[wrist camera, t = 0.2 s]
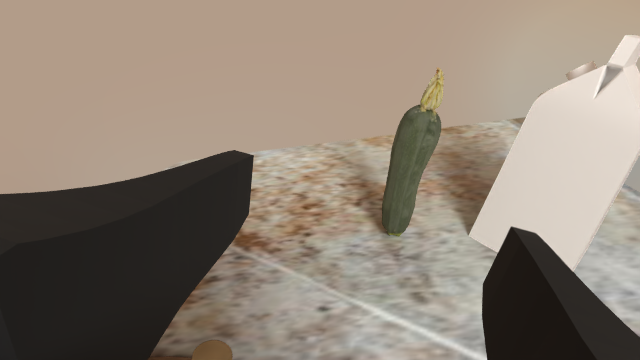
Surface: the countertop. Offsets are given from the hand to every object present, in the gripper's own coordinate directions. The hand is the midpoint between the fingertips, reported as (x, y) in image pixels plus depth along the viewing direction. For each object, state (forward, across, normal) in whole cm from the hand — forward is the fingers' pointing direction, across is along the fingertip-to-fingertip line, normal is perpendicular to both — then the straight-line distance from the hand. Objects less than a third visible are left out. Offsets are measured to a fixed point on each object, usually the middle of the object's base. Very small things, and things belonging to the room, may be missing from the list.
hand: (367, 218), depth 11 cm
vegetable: (+31, -2, +23) cm, 38 cm away
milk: (+39, -20, +23) cm, 49 cm away
